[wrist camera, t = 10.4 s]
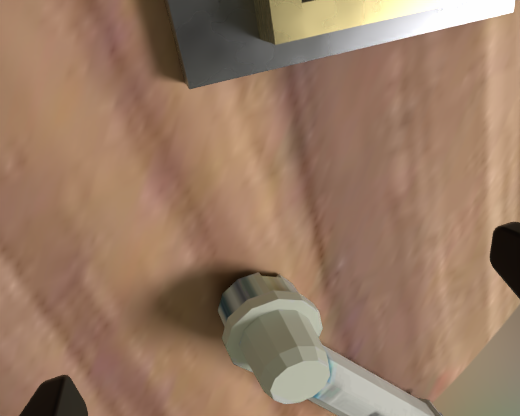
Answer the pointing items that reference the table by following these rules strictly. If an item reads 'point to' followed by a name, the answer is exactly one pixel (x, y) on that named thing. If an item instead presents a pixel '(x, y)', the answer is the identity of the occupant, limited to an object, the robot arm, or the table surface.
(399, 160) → the table surface
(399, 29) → the framed base plate
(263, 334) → the light grey long piece
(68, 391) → the robot arm
